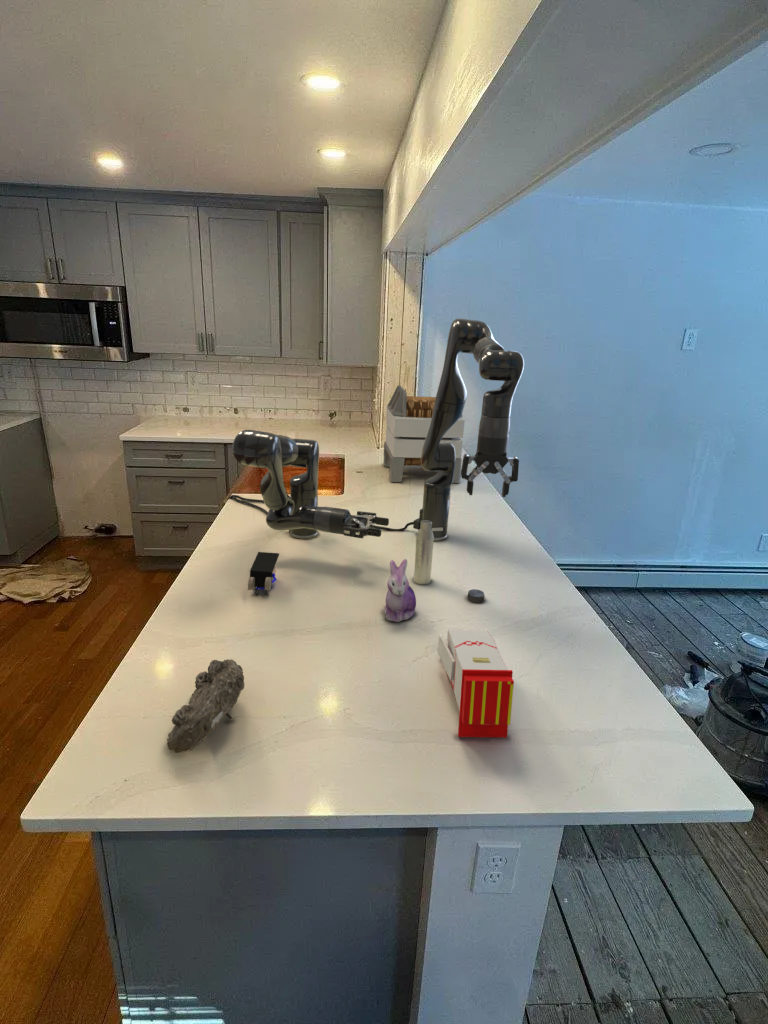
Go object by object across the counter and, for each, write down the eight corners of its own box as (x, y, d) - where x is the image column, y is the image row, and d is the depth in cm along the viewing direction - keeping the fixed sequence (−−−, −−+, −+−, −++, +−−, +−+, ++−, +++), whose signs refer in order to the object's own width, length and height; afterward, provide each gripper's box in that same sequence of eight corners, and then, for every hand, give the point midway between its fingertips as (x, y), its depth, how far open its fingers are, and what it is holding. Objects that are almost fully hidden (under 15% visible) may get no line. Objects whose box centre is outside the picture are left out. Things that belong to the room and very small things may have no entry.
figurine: (392, 627, 141) (395, 572, 136) (374, 608, 149) (376, 556, 144) (425, 619, 145) (429, 566, 140) (405, 601, 154) (408, 550, 149)
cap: (487, 599, 157) (487, 593, 156) (476, 604, 154) (477, 598, 153) (474, 593, 160) (475, 587, 159) (464, 598, 157) (464, 592, 156)
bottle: (413, 583, 164) (417, 524, 158) (413, 576, 169) (417, 518, 162) (430, 584, 164) (435, 525, 158) (430, 577, 168) (434, 519, 162)
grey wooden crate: (382, 463, 289) (386, 382, 275) (445, 464, 293) (451, 384, 279) (390, 482, 257) (394, 392, 243) (460, 483, 261) (468, 394, 247)
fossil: (192, 660, 117) (244, 628, 112) (224, 691, 120) (276, 661, 115) (142, 746, 98) (202, 712, 93) (182, 779, 101) (242, 748, 96)
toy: (488, 613, 130) (523, 677, 101) (484, 667, 133) (517, 744, 104) (435, 612, 130) (455, 676, 101) (432, 666, 133) (451, 743, 103)
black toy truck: (272, 602, 153) (280, 572, 166) (271, 579, 149) (279, 550, 163) (247, 602, 152) (257, 572, 166) (245, 578, 149) (256, 549, 162)
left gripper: (323, 516, 160) (378, 524, 156) (339, 500, 173) (391, 507, 169) (323, 541, 163) (377, 549, 159) (339, 523, 176) (390, 530, 172)
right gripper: (519, 432, 144) (512, 492, 150) (463, 429, 145) (458, 489, 150) (525, 438, 137) (516, 501, 143) (466, 435, 138) (460, 498, 143)
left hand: (384, 527), depth 164 cm, fingers open, 8 cm apart
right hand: (486, 495), depth 147 cm, fingers open, 8 cm apart
